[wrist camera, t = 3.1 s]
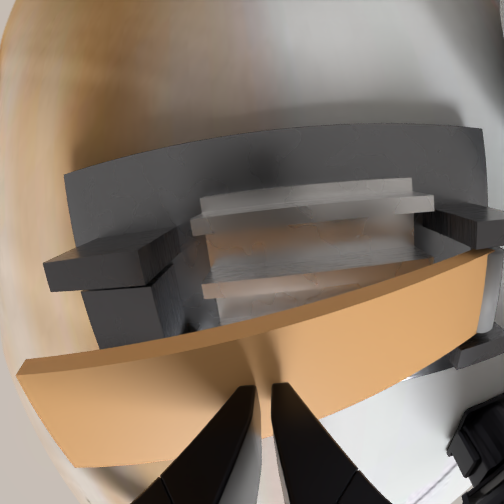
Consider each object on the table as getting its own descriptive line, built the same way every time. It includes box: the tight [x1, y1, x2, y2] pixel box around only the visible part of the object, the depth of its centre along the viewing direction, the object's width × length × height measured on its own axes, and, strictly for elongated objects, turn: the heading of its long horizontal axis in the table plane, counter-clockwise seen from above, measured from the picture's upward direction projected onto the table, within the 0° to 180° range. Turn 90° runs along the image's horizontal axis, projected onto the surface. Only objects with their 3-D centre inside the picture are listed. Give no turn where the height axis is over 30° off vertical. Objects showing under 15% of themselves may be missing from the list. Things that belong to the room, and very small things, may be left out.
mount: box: [43, 124, 504, 381], centre depth 12 cm, size 22×14×6 cm, turn 97°
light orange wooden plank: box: [16, 246, 504, 468], centre depth 8 cm, size 17×4×2 cm, turn 97°
